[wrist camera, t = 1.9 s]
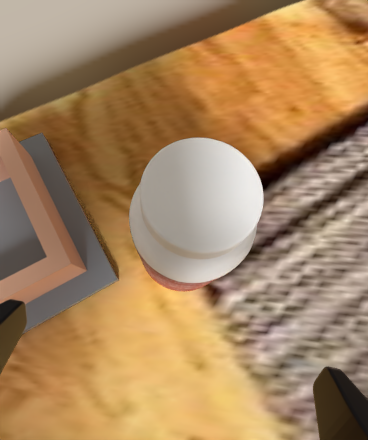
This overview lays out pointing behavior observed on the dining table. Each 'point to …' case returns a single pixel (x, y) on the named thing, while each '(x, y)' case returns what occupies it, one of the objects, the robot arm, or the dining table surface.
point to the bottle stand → (44, 234)
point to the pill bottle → (195, 212)
